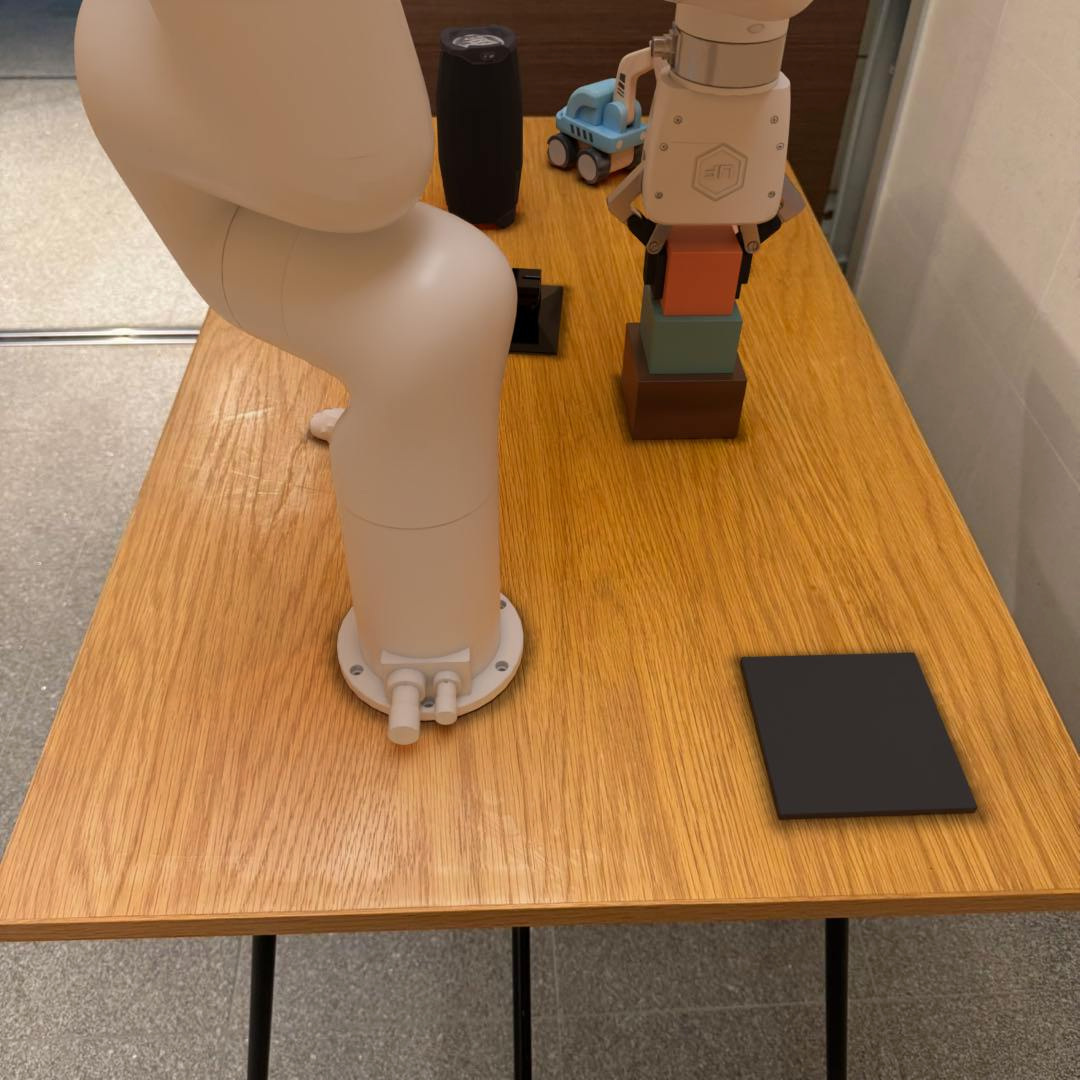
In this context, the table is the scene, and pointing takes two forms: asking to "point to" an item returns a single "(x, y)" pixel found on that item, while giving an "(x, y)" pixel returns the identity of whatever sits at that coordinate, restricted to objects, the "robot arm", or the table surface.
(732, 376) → the base block
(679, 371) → the middle block
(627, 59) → the toy excavator
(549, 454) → the table surface
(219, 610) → the table surface
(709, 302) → the orange-red cube
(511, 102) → the portable speaker
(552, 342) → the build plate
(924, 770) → the mat
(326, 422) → the white creature statuette
